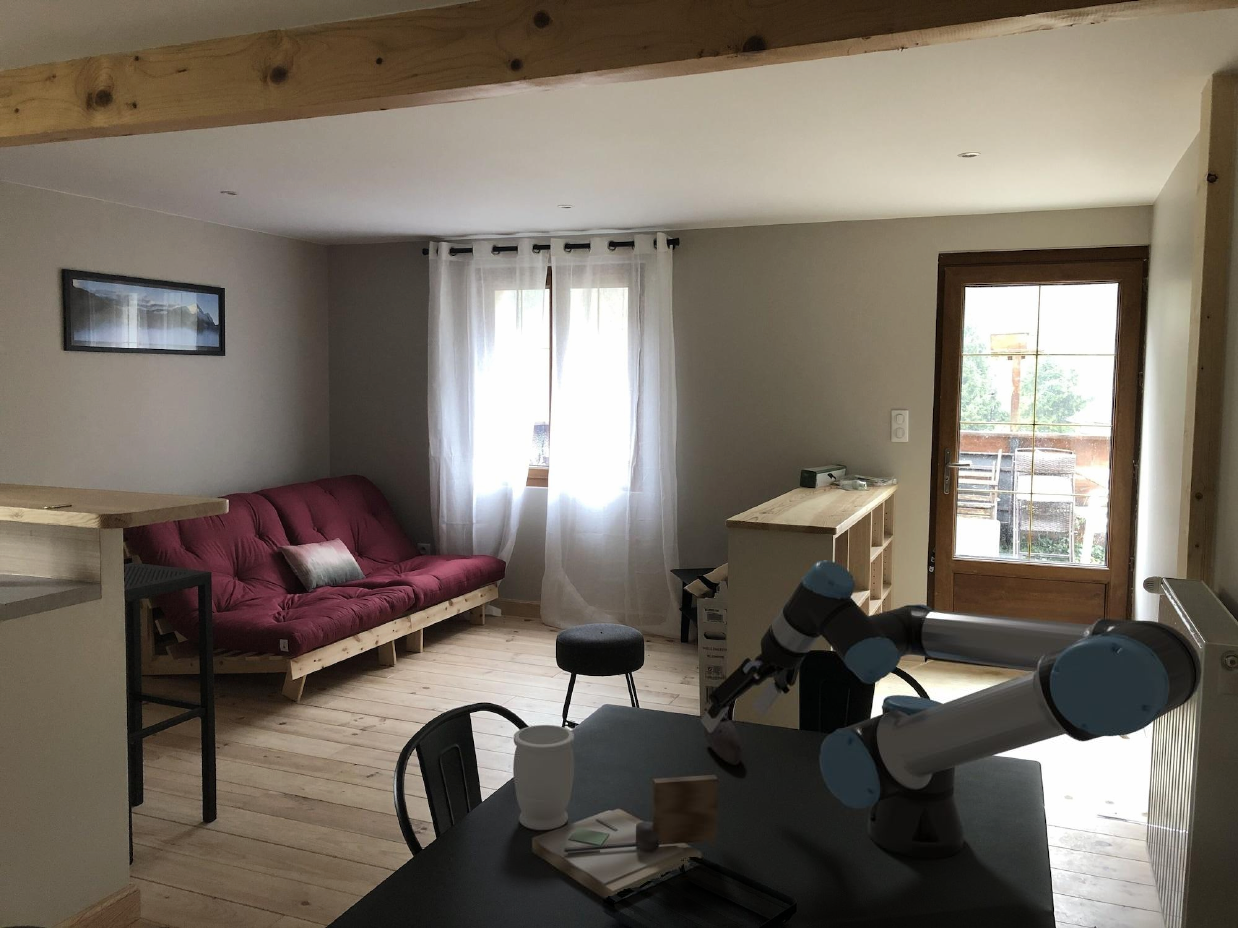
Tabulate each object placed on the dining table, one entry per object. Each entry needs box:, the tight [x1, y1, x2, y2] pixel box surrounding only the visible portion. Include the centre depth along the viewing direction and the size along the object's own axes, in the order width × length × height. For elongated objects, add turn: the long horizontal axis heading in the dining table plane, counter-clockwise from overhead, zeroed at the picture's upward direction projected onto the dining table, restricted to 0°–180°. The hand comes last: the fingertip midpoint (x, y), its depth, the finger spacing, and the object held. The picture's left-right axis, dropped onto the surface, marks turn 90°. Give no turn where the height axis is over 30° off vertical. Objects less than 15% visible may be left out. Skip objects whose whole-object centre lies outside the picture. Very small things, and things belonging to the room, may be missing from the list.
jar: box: [512, 724, 575, 831], centre depth 163 cm, size 11×10×15 cm
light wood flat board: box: [531, 808, 703, 900], centre depth 150 cm, size 20×18×2 cm
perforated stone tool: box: [704, 715, 743, 766], centre depth 192 cm, size 15×5×7 cm, turn 11°
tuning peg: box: [564, 774, 719, 852], centre depth 149 cm, size 24×4×10 cm, turn 100°
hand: (733, 717), depth 171 cm, fingers open, 13 cm apart
